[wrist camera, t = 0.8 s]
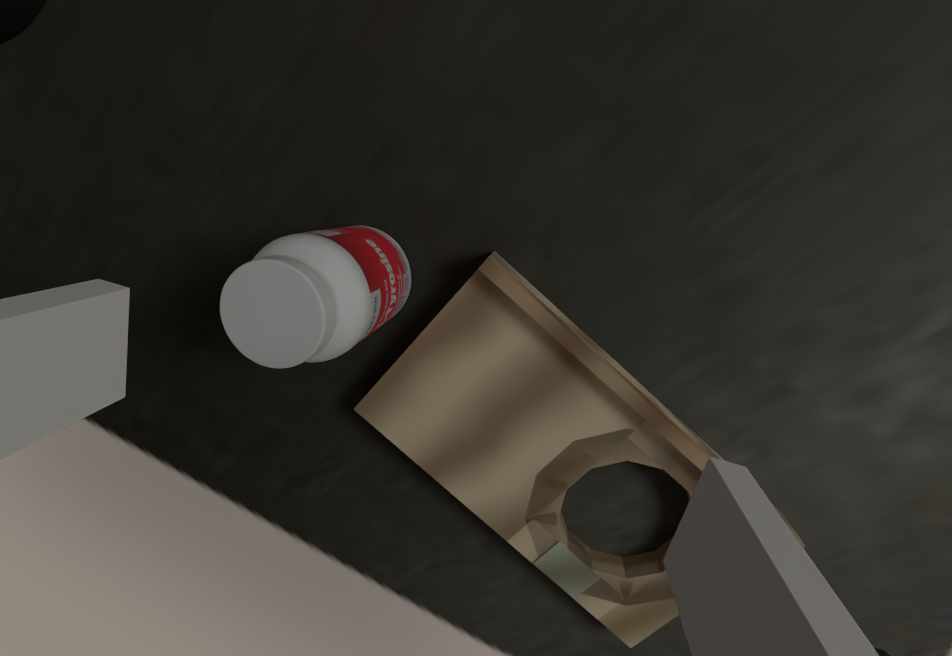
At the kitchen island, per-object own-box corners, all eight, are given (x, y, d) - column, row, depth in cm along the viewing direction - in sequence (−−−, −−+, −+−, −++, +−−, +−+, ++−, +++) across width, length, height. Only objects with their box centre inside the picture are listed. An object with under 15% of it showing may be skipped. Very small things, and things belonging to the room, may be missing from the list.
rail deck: (364, 396, 33) (345, 417, 30) (494, 250, 30) (487, 257, 27) (626, 623, 35) (633, 664, 32) (780, 511, 31) (805, 546, 28)
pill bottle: (418, 321, 32) (351, 385, 21) (326, 324, 33) (218, 387, 22) (407, 220, 30) (329, 235, 19) (311, 227, 31) (187, 244, 20)
